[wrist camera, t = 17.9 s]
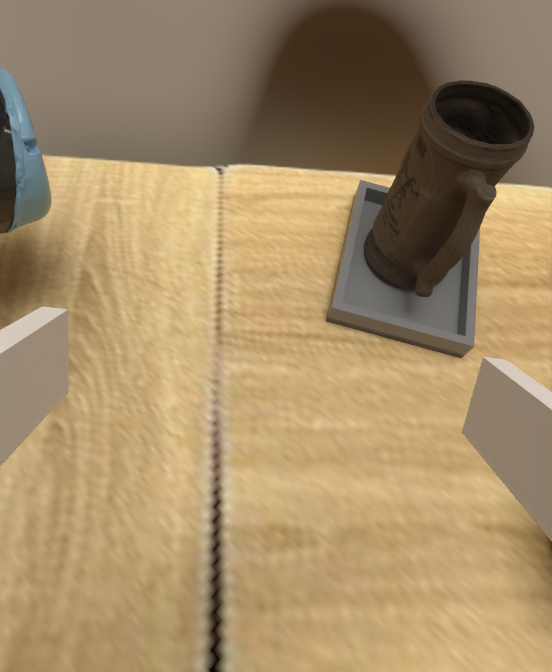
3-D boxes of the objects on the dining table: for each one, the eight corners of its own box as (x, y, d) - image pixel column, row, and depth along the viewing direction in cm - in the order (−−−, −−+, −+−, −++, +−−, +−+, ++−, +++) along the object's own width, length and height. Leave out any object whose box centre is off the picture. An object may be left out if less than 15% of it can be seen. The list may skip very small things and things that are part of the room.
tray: (326, 320, 54) (332, 307, 52) (354, 196, 64) (360, 179, 61) (461, 357, 54) (474, 346, 51) (469, 227, 63) (480, 212, 61)
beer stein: (355, 218, 61) (413, 70, 43) (434, 218, 62) (521, 76, 45) (377, 323, 54) (457, 199, 36) (465, 321, 55) (582, 201, 38)
